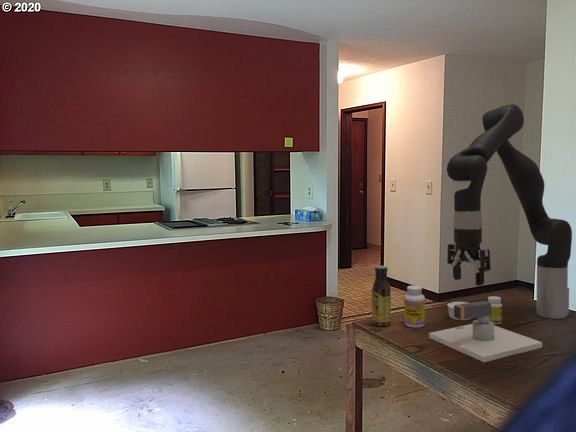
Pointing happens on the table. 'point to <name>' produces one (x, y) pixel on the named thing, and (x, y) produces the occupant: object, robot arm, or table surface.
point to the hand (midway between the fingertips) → (468, 282)
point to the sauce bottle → (381, 298)
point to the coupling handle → (473, 311)
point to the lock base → (485, 341)
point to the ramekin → (451, 309)
